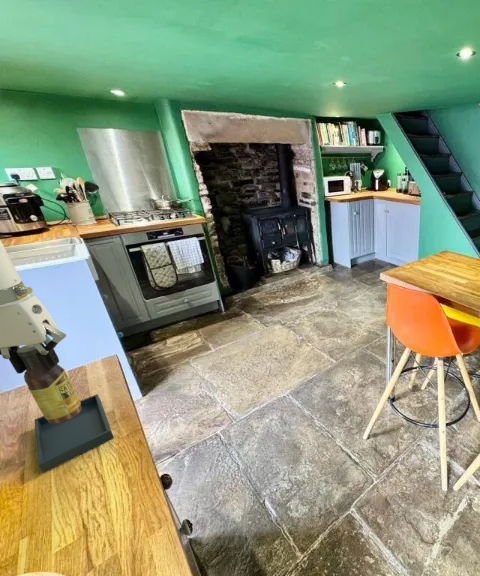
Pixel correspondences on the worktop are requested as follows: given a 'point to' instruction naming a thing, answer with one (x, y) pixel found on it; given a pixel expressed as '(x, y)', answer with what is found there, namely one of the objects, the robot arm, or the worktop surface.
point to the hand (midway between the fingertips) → (39, 367)
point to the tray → (71, 434)
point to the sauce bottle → (49, 387)
